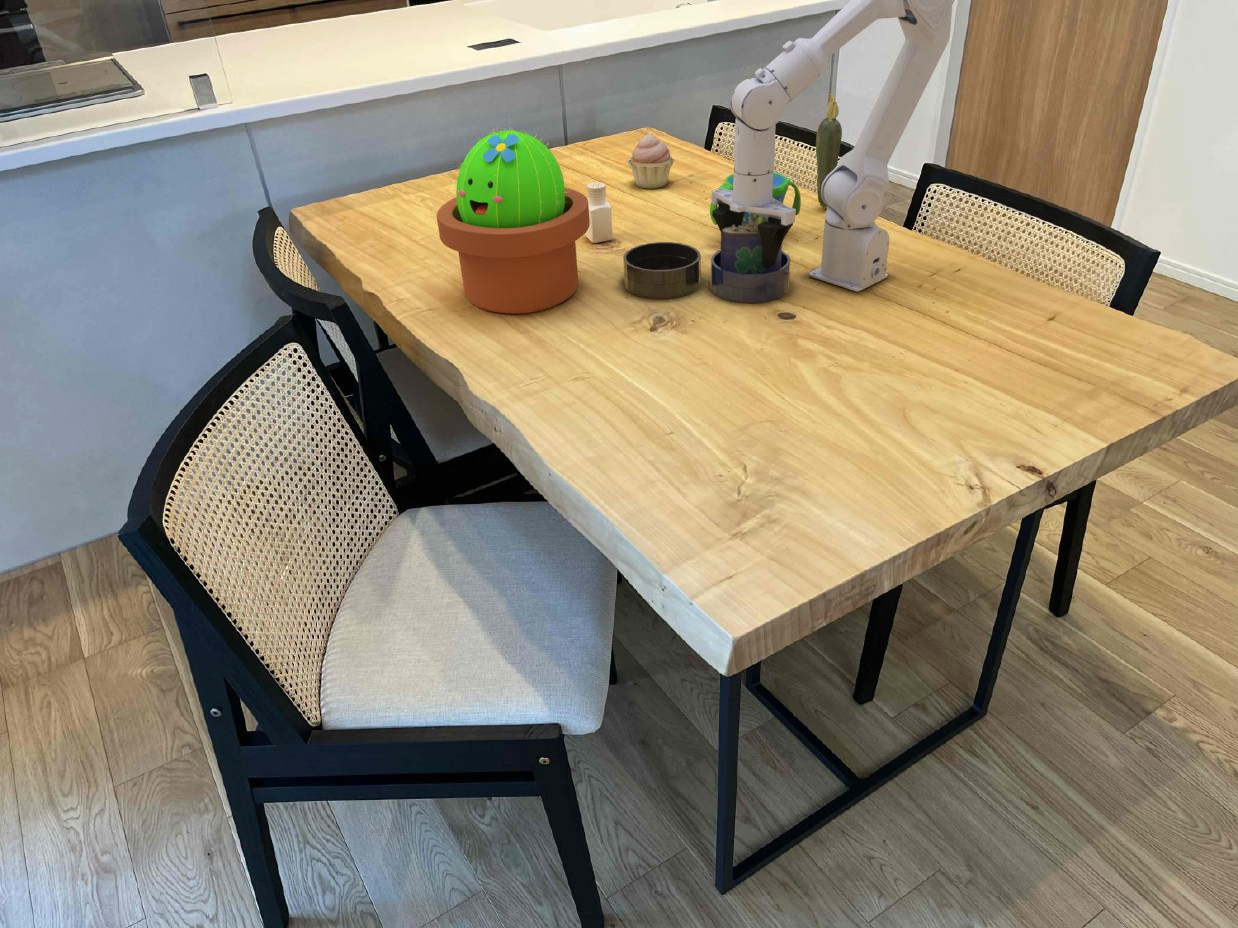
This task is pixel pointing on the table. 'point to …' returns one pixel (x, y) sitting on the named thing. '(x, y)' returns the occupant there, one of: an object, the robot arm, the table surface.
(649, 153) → the cupcake
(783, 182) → the snack cup
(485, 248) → the potted cactus
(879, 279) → the robot arm
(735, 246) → the flask
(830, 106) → the vegetable
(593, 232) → the pepper shaker
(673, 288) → the charcoal bowl
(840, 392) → the table surface
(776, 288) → the indigo bowl
